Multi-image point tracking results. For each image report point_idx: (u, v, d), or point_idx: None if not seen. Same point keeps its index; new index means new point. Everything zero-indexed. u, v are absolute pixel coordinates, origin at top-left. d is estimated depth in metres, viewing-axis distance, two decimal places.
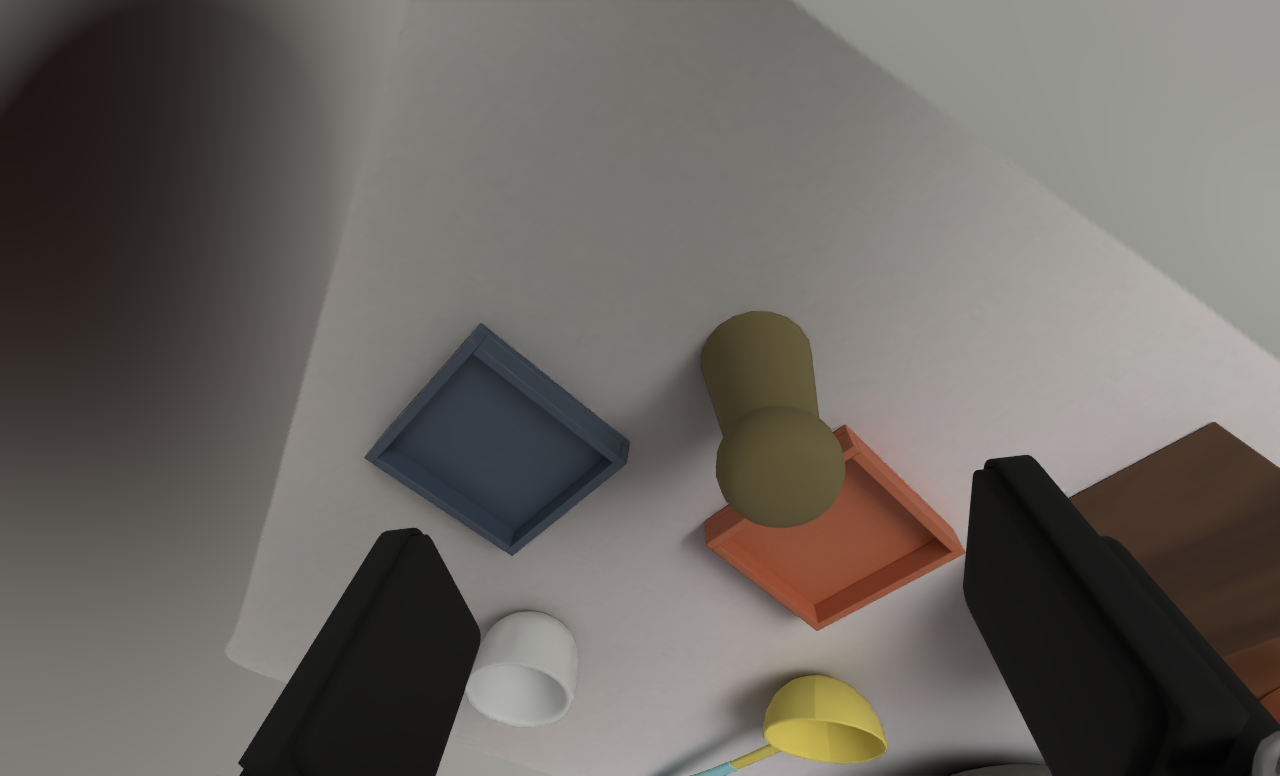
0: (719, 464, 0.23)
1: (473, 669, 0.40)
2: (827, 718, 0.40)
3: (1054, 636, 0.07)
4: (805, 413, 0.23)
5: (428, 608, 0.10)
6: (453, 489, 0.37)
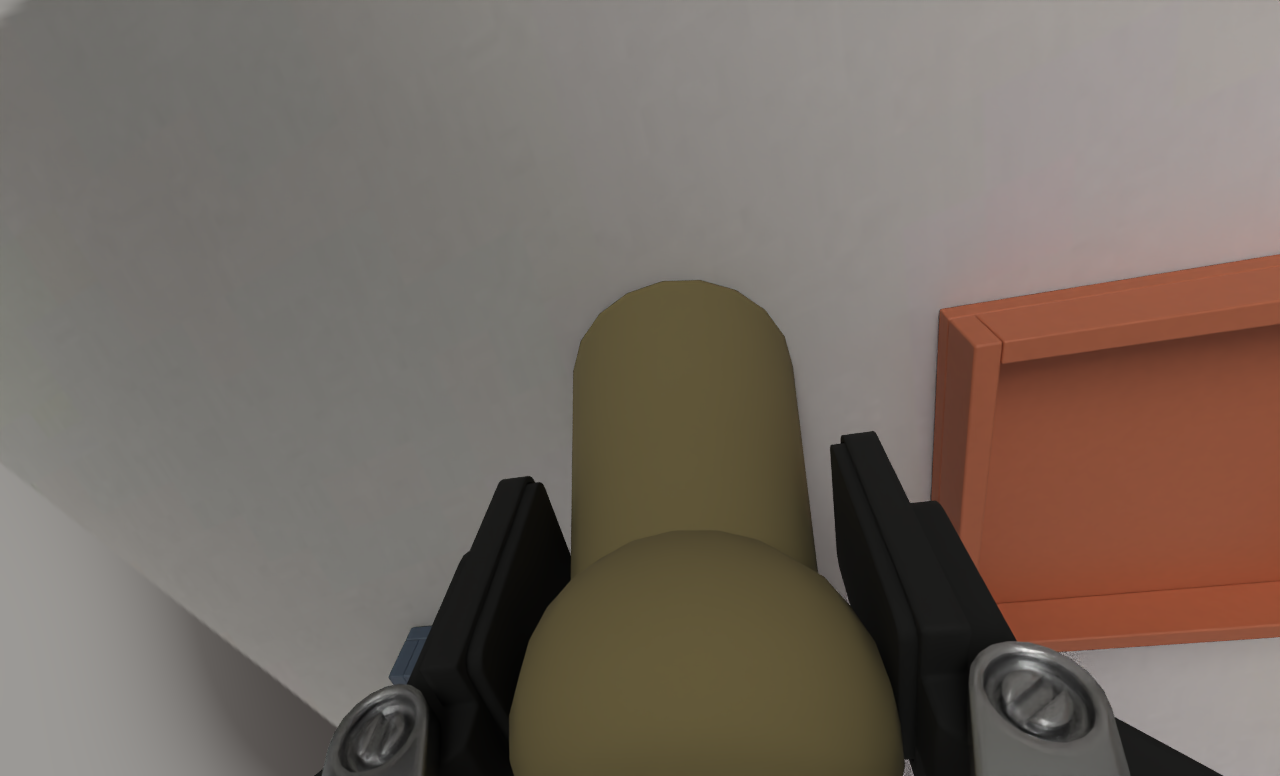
0: None
1: None
2: None
3: (868, 581, 0.08)
4: (589, 585, 0.07)
5: (546, 550, 0.10)
6: None
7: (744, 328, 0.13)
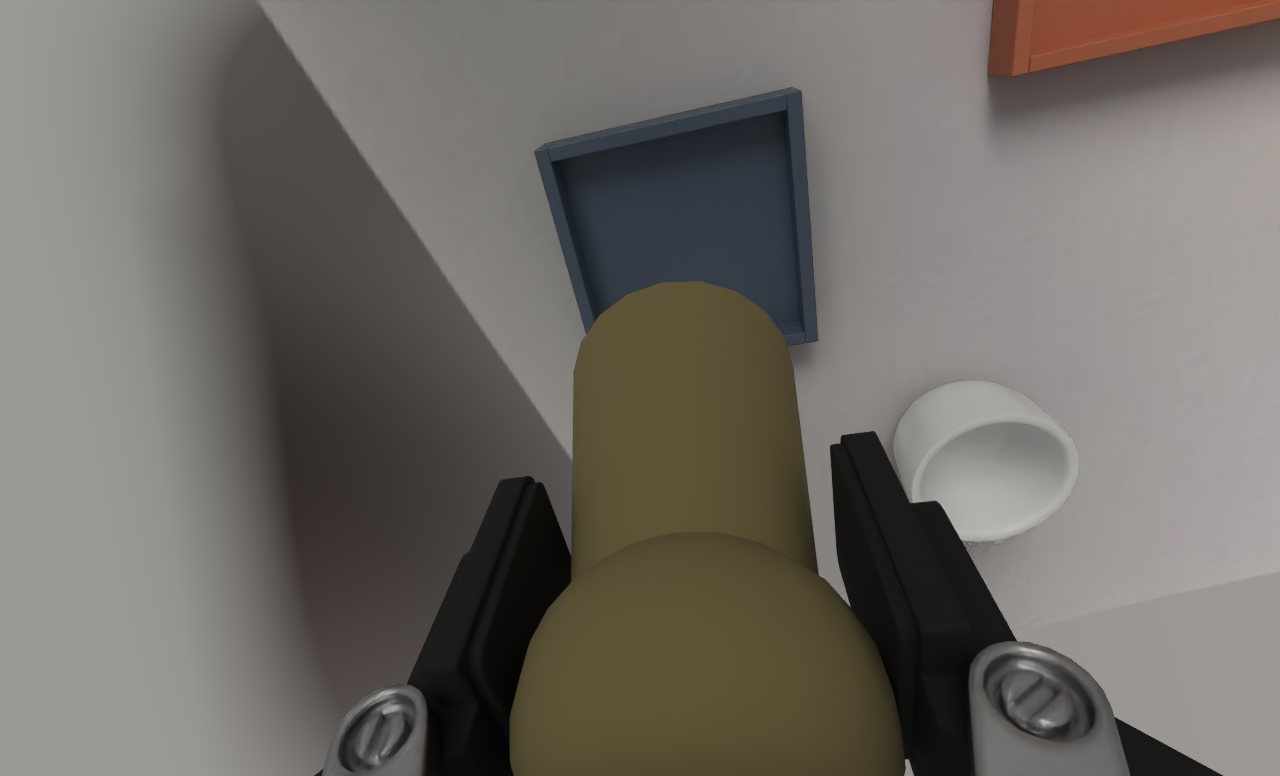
0: None
1: (908, 493, 0.29)
2: None
3: (868, 582, 0.08)
4: (590, 587, 0.07)
5: (546, 551, 0.10)
6: None
7: (744, 329, 0.13)
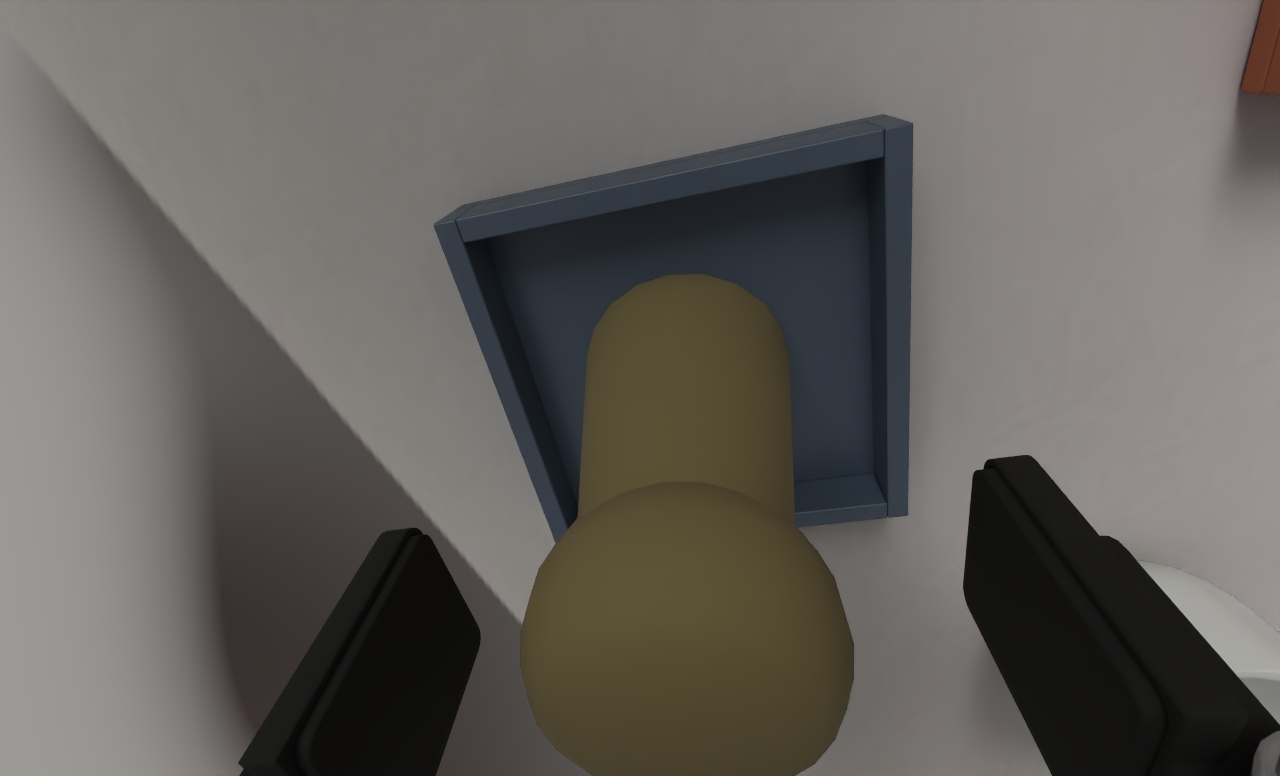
0: None
1: None
2: None
3: (1054, 636, 0.07)
4: (590, 520, 0.09)
5: (428, 608, 0.10)
6: None
7: (741, 317, 0.15)
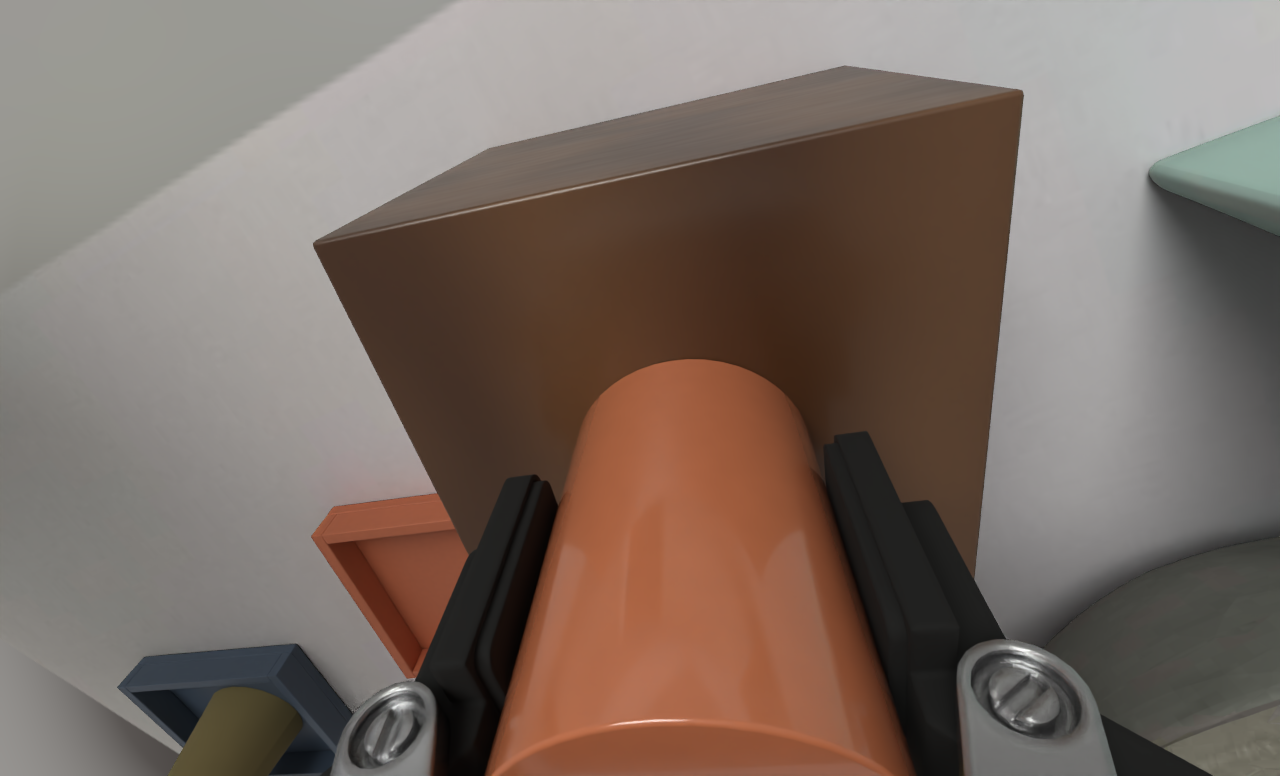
0: None
1: None
2: None
3: (859, 580, 0.08)
4: None
5: None
6: (297, 752, 0.41)
7: (247, 718, 0.36)
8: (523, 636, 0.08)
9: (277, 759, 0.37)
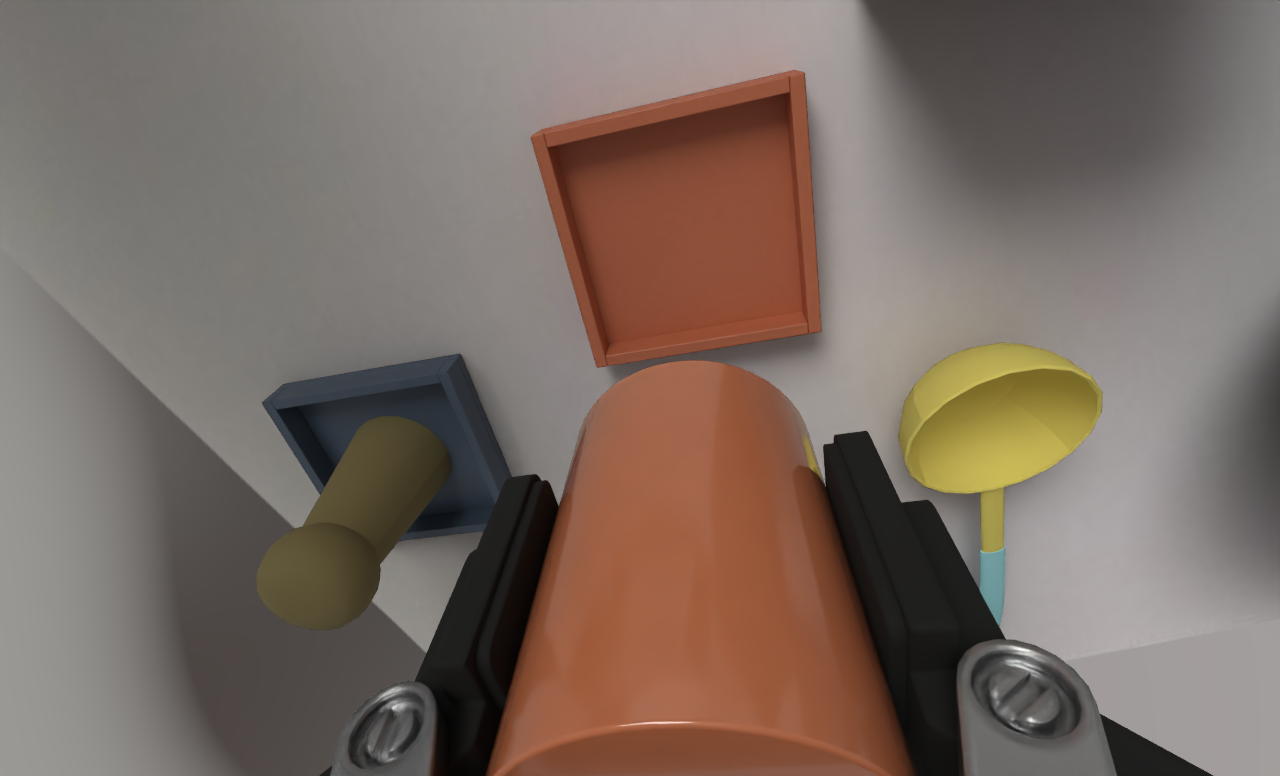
0: None
1: None
2: (933, 407, 0.26)
3: (859, 580, 0.08)
4: (282, 537, 0.27)
5: None
6: (437, 515, 0.38)
7: (403, 441, 0.33)
8: (523, 638, 0.08)
9: (431, 494, 0.34)
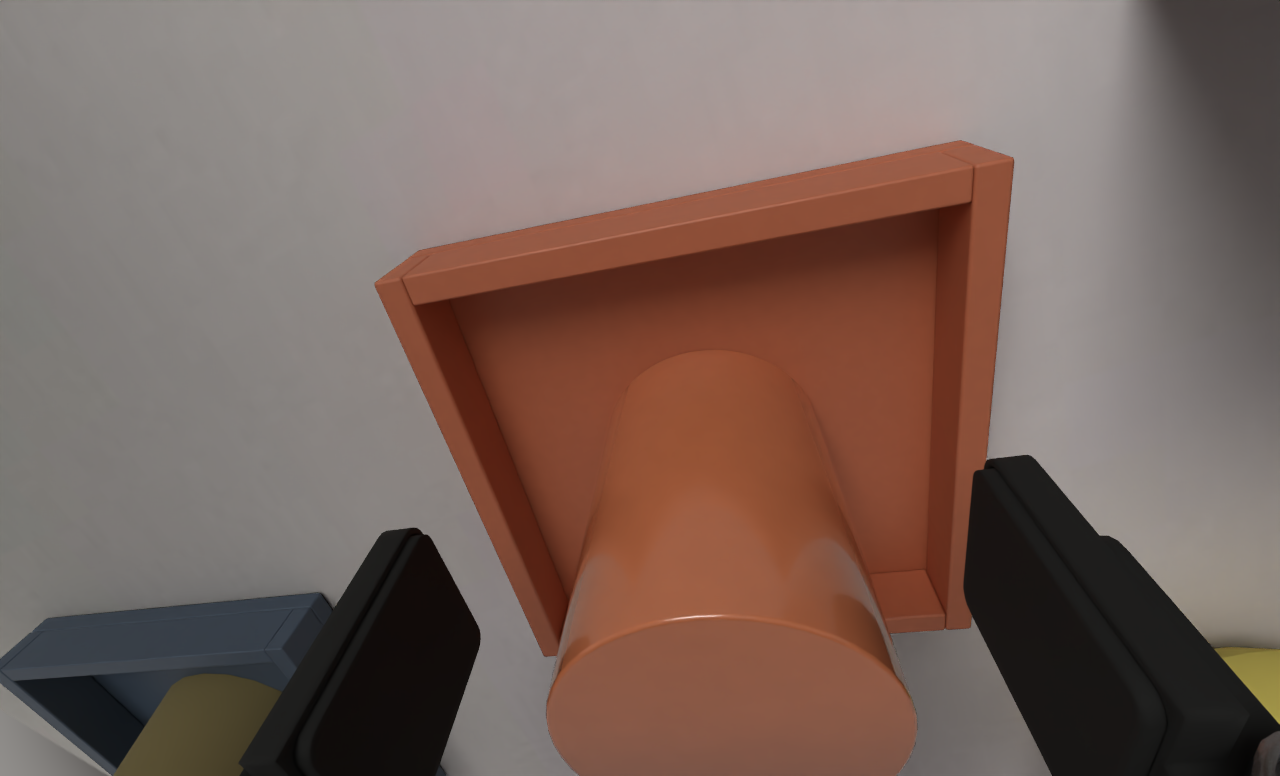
0: None
1: None
2: None
3: (1054, 636, 0.07)
4: None
5: (428, 607, 0.10)
6: None
7: (227, 732, 0.19)
8: (576, 575, 0.09)
9: None
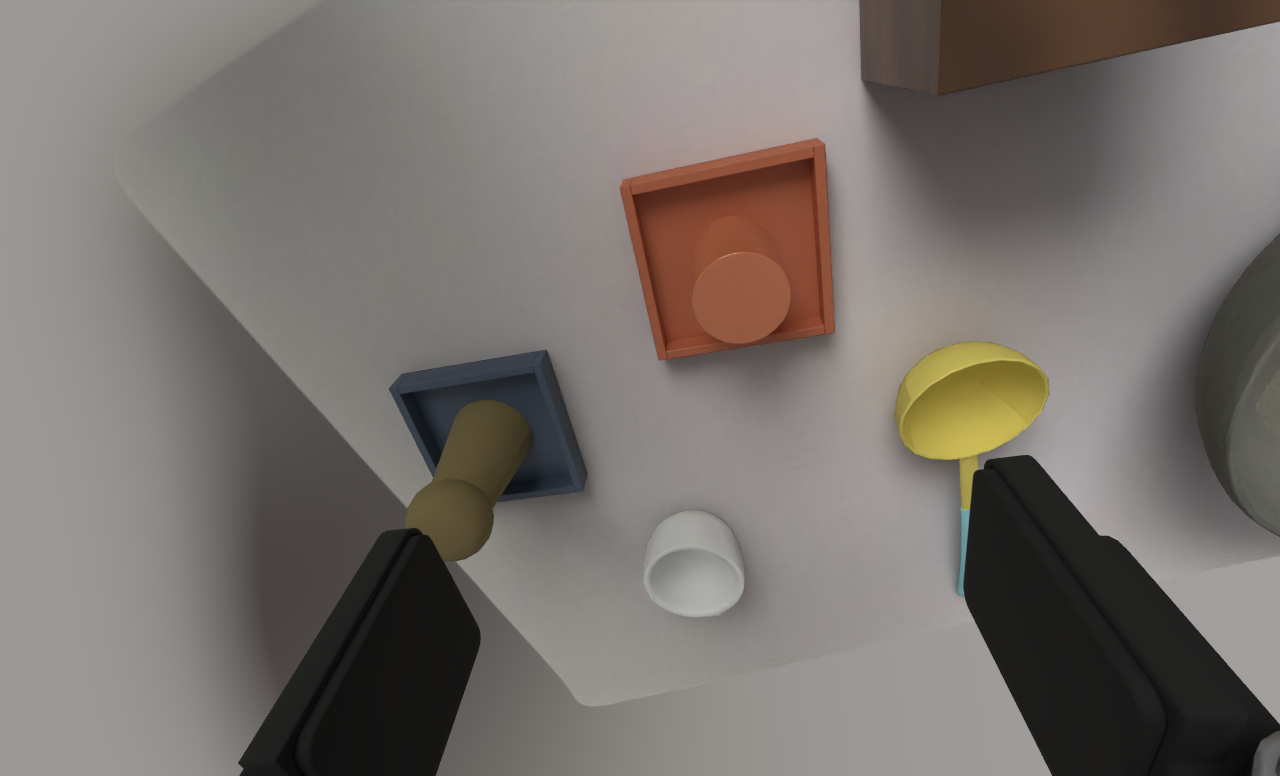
0: None
1: (645, 587, 0.45)
2: (920, 390, 0.34)
3: (1054, 636, 0.07)
4: (423, 488, 0.35)
5: (428, 608, 0.10)
6: (517, 482, 0.46)
7: (500, 419, 0.41)
8: (695, 270, 0.31)
9: (520, 462, 0.42)
